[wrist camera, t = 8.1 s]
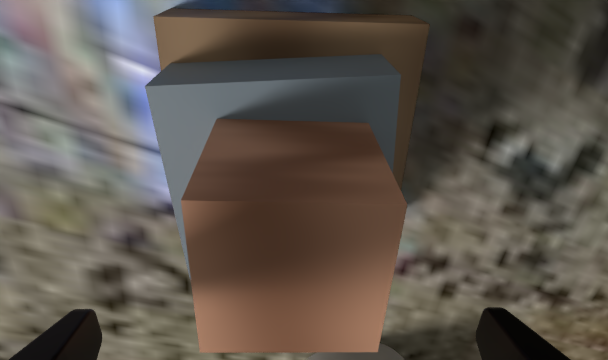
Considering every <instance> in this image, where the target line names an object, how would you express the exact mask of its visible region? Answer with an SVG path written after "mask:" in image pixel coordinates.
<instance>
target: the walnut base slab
mask: <svg viewBox="0 0 608 360" xmlns="http://www.w3.org/2000/svg"><path fill="white" fill-rule="evenodd" d="M153 17H154V24H155V31H156V38H157V45H158V52H159V59H160V66H161V71H162V70H163V69H164V68H165V67H166V66H167V65H168V64H170V63H192V62H215V61H237V60H260V59H282V58H305V57H327V56H350V55H372V54H382V55H383V56H384V58H385V59H386V60H387V61H388V62H389V63H390V64H391V65H392V66H393V67H394V68H395V69H396V70H397V71H398V72H399V73H400V74H401V80H400V92H399V104H398V116H397V128H396V139H395V151H394V163H393V175H394V178H395V180H396V182H397V184H398V186H399V188H400V190H401V187H402V181H403V176H404V170H405V164H406V158H407V153H408V147H409V141H410V135H411V130H412V124H413V118H414V112H415V107H416V101H417V95H418V90H419V84H420V78H421V72H422V67H423V61H424V55H425V49H426V44H427V38H428V32H429V27H430V24H428V23H426V22H424V21H422V20H420V19H418V18H416V17H414V16H412V15H378V14H345V13H311V12H277V11H244V10H210V9H177V8H171V9H168V10H166V11H164V12H162V13H160V14H158V15H156V16H153Z"/></svg>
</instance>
